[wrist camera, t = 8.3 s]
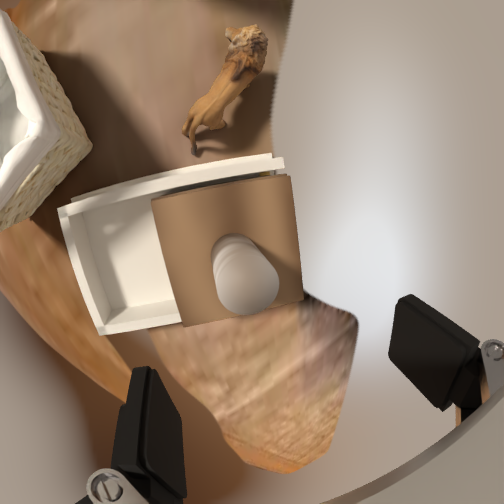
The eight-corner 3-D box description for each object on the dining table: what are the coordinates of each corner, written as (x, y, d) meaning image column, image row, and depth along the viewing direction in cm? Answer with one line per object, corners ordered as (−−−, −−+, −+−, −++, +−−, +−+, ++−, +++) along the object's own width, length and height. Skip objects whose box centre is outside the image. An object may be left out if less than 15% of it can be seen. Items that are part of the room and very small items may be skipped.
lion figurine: (223, 46, 26) (234, 10, 17) (263, 62, 27) (285, 30, 19) (173, 148, 29) (164, 138, 20) (215, 163, 30) (223, 159, 22)
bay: (111, 320, 33) (101, 340, 28) (74, 197, 27) (55, 202, 23) (286, 284, 36) (300, 299, 31) (269, 153, 31) (281, 150, 26)
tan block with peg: (184, 294, 32) (181, 377, 18) (160, 193, 28) (128, 211, 14) (281, 273, 34) (337, 337, 20) (268, 173, 30) (328, 174, 16)
